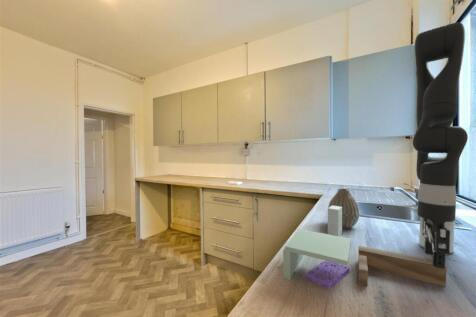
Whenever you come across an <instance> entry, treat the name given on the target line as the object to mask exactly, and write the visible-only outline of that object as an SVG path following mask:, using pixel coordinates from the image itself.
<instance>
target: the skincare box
mask: <svg viewBox="0 0 476 317" xmlns="http://www.w3.org/2000/svg"><path fill="white" fill-rule="evenodd" d="M327 234H328V235H334V236H339V237H342V236H343V235H342V234H343V229H342V207H339V206H333V205H332V206H331V207H329V208H328V207H327Z"/></svg>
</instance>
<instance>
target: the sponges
mask: <svg viewBox="0 0 476 317" xmlns="http://www.w3.org/2000/svg"><path fill="white" fill-rule="evenodd" d="M350 272H351V268H350V266H349V265H348V266H346V265H342V264H338V263H334V262H330V261H326V260H322V263H321V262H320V263H319V264H318V265H316V266H314V267H313V268H311V269H310V270H308V271H306V272H305V275H304V276H305V277H306V279H307V280H309V281H312V282H313V283H315V284H317V285H320V286H321V287H323V288H325V289H326V290H327V289H328V290H331V289H332V288H333V287H334V286H335V285H337V284H338V283H339V282H340V281H341V280H342V279H343V278H344V277H346V276H347V275H348V274H349V273H350Z"/></svg>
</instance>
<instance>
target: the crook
mask: <svg viewBox="0 0 476 317" xmlns="http://www.w3.org/2000/svg"><path fill="white" fill-rule="evenodd" d="M357 255H358V258H357V259H358V260H357V261H358V265H357V266H358V268H357V269H358V285H362V286H366V287H368V285H369V284H368V282H369V278H368V277H369V270H375V271H378V272H383V273H387V274H392V275H397V276H400V277H405V278H409V279H414V280H418V281H422V282H426V283H427V282H428V283H431V284H435V285H441V286H444V287H446V286H447V269H448V268H447V266H446V265H445V268H443V269H442V268H438V267H434V266H433V264H432V262H433V258H432V259H431V258H426V257H421V256H414V255H410V254H405V253H399V252H396V251H395V252H394V251H389V250H385V249H379V248H373V247H367V246H364V245H363V246H362V245H358V254H357Z"/></svg>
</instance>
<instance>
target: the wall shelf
mask: <svg viewBox="0 0 476 317" xmlns="http://www.w3.org/2000/svg"><path fill="white" fill-rule="evenodd" d="M351 245H352V238H349V237H348V238H347V237H344V236H340V237H339V236H334V235H328V233H322V232H315V231H311V230H306V229H301V228H299V229H298V230H297V231H296V232H295V234H294V235H293V236H292V237H291V238H290V240H289V241H288V242H287V243H286V244H285V245H284V248H283V249H282V278H284V279H287V280H291V278H293V275H294V273H295V272H296V270H297V268H298V267H299V265H300V263H301V261H302V260H303V257H304V256H306V257H310V258H314V259H318V260H322V261H325V260H326V261H330V262H334V263H338V264H340V265H341V264H342V265H345V266H348V267H349V261H350V259H349V258H350V252H351V247H352V246H351Z"/></svg>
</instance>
